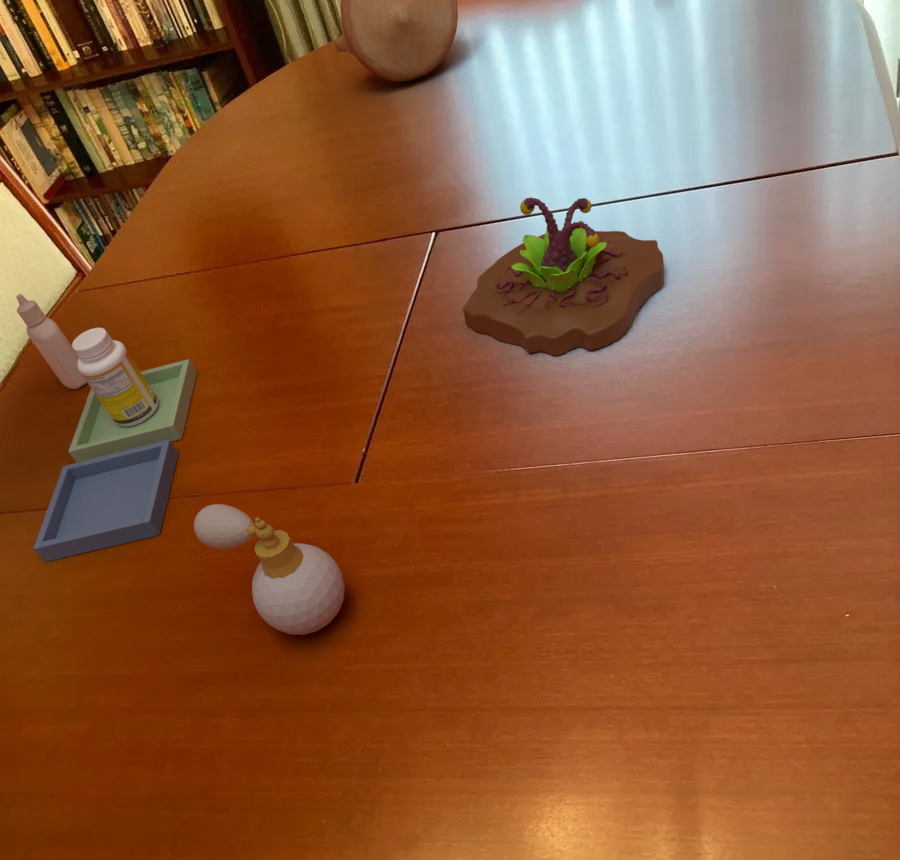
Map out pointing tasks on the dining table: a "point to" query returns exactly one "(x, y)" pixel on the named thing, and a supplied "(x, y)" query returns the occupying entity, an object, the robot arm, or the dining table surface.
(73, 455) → the green tray
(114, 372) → the supplement bottle
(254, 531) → the perfume bottle
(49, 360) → the eye dropper bottle
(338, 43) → the jug
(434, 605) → the dining table surface
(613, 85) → the dining table surface
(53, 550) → the blue tray
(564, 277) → the plant
